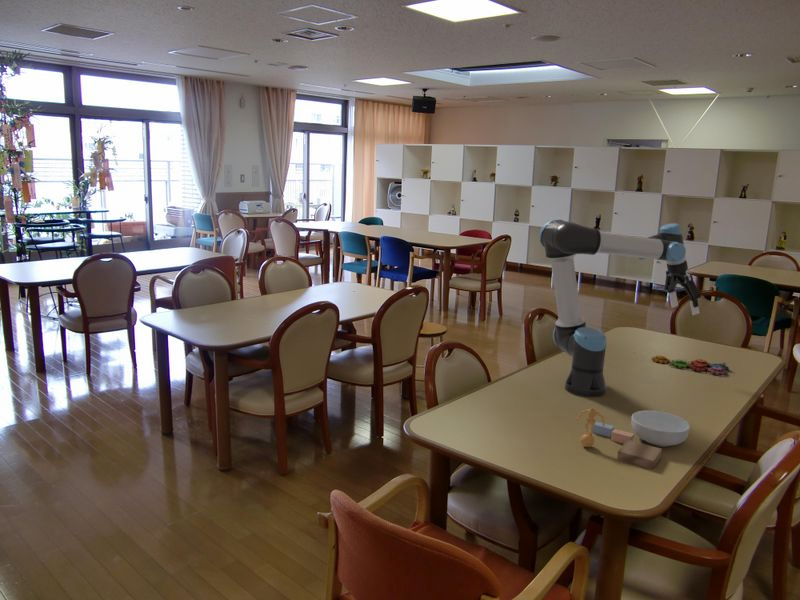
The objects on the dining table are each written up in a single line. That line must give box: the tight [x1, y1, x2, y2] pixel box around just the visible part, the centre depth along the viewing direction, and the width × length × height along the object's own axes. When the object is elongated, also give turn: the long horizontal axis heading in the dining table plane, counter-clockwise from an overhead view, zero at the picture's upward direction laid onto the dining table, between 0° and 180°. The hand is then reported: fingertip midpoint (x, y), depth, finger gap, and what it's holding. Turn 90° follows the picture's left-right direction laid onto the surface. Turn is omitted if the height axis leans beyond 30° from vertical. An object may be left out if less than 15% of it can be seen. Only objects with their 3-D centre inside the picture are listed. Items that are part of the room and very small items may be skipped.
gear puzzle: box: [651, 354, 730, 378], centre depth 277 cm, size 31×16×4 cm, turn 58°
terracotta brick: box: [610, 428, 635, 445], centre depth 196 cm, size 6×3×3 cm, turn 54°
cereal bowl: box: [630, 409, 691, 447], centre depth 196 cm, size 17×17×7 cm
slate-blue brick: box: [592, 421, 615, 439], centre depth 201 cm, size 6×3×3 cm, turn 54°
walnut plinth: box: [616, 440, 663, 470], centre depth 185 cm, size 10×10×3 cm
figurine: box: [576, 407, 605, 448], centre depth 191 cm, size 8×6×12 cm
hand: (685, 310), depth 258 cm, fingers open, 13 cm apart
